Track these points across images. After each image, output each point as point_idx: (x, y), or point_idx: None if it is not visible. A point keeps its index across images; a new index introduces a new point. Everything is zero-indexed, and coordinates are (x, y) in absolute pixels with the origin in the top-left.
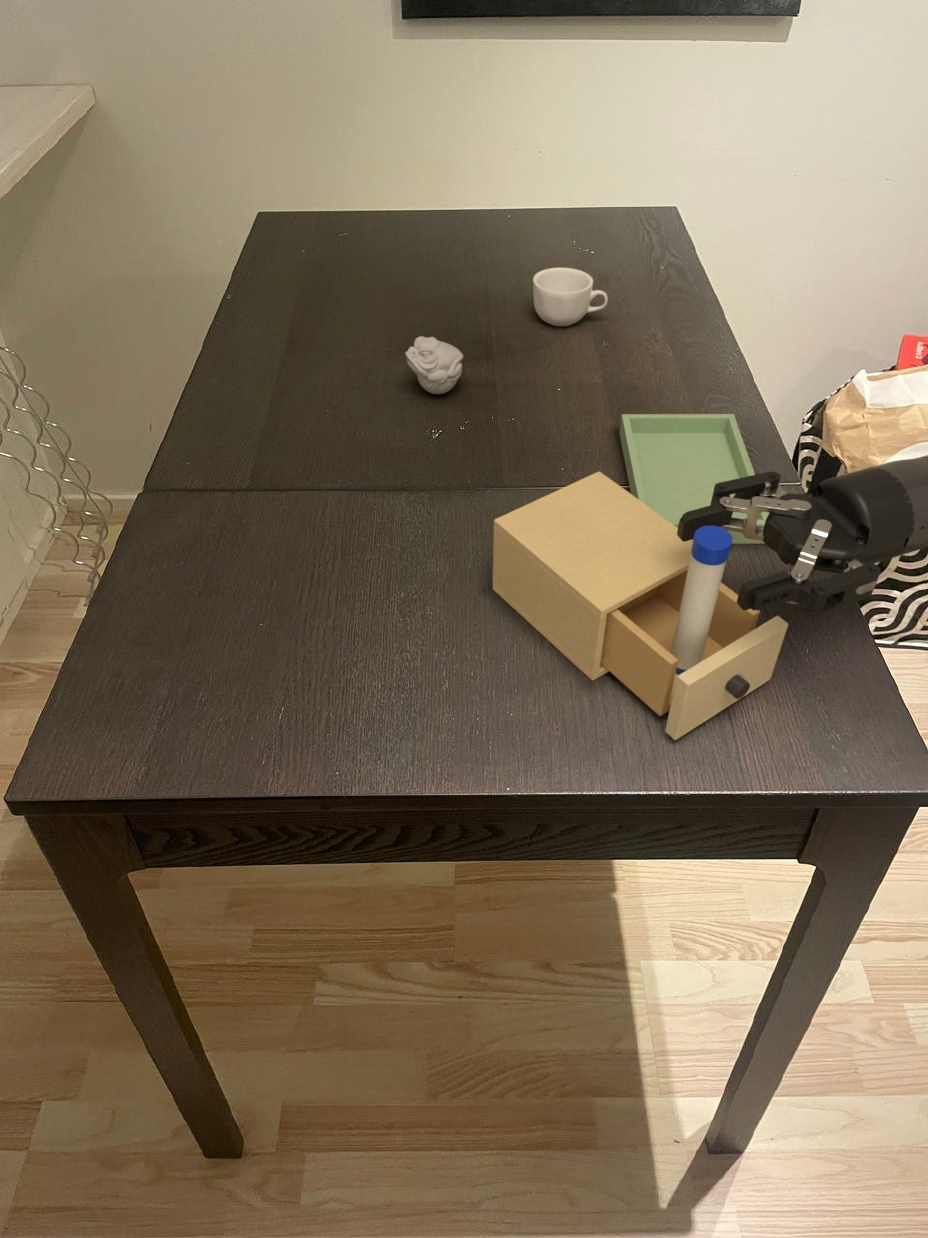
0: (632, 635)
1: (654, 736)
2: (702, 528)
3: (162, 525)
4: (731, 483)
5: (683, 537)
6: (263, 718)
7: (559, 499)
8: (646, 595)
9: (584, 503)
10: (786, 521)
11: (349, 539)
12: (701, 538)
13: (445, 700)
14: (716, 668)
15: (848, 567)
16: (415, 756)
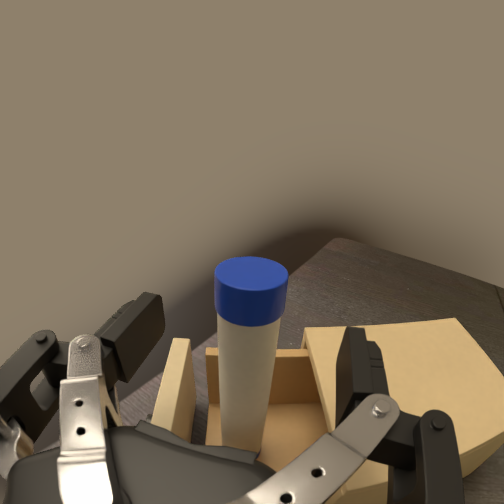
0: None
1: (204, 399)
2: (283, 274)
3: (474, 282)
4: (446, 451)
5: (338, 355)
6: (345, 274)
7: (485, 366)
8: None
9: (480, 384)
10: (217, 487)
11: (473, 330)
12: (260, 261)
13: (322, 323)
14: (165, 367)
15: (15, 447)
16: (289, 300)
